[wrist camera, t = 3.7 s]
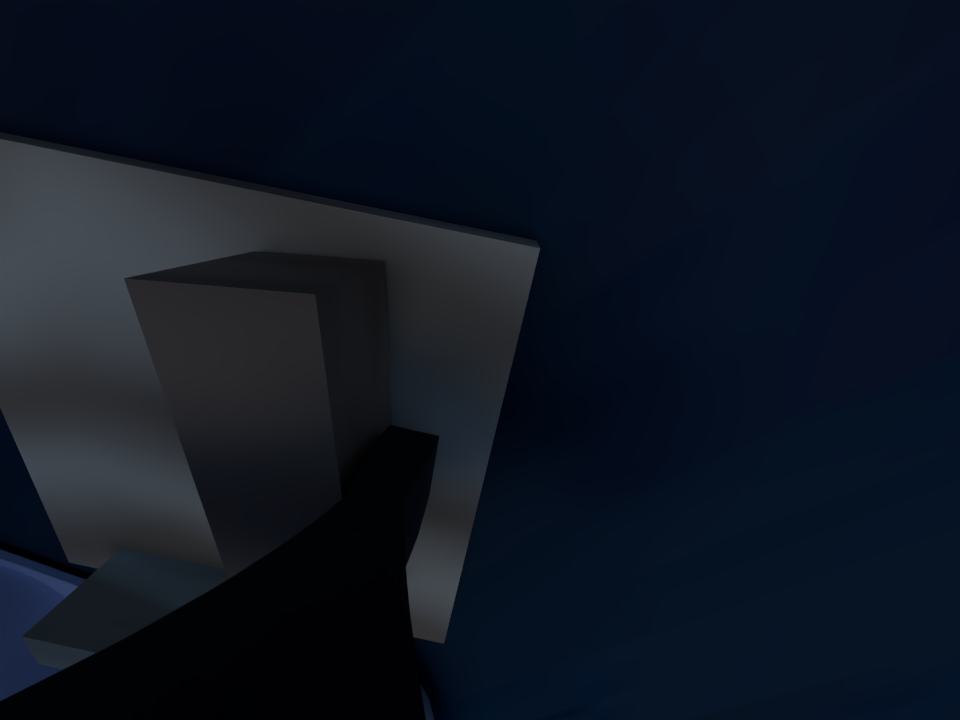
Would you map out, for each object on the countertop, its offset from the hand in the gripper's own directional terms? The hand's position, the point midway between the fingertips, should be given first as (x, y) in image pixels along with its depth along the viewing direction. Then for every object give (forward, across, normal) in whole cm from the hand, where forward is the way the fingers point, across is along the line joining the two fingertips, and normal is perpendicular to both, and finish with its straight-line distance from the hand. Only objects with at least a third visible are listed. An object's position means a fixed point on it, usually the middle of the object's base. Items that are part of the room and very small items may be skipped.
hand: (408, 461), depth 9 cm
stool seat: (+2, +5, +2) cm, 6 cm away
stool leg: (+1, +2, +1) cm, 3 cm away
